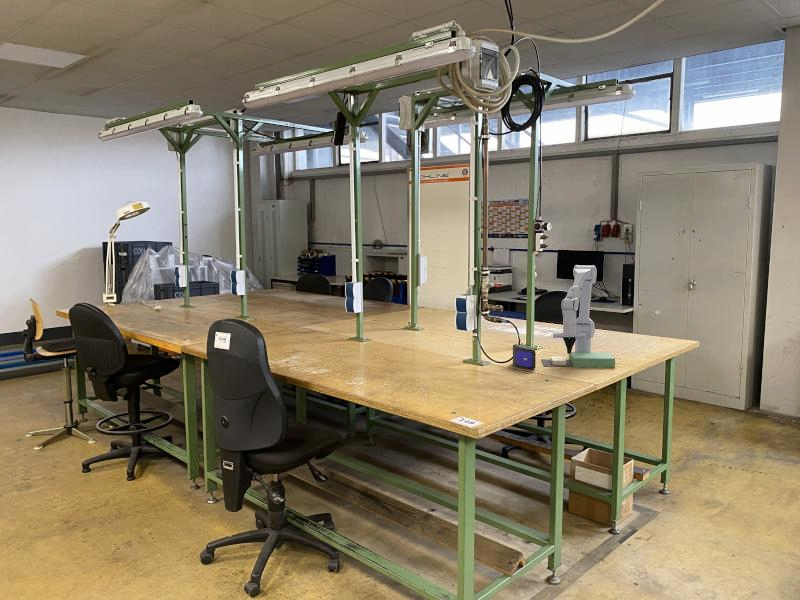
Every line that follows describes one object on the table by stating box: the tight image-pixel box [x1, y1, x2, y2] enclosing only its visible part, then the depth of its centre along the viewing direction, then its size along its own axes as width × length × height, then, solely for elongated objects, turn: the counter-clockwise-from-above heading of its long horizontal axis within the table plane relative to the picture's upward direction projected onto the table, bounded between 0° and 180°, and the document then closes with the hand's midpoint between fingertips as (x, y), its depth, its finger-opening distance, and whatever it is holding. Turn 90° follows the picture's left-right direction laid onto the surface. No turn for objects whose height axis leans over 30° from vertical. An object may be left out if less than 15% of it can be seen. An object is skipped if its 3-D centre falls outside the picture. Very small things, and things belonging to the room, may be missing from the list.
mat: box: [540, 358, 574, 368], centre depth 283 cm, size 14×13×1 cm
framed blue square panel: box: [512, 343, 537, 371], centre depth 277 cm, size 16×5×9 cm, turn 23°
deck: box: [568, 351, 616, 368], centre depth 281 cm, size 14×18×4 cm
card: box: [549, 356, 567, 365], centre depth 283 cm, size 9×6×2 cm, turn 173°
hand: (569, 353), depth 282 cm, fingers closed
